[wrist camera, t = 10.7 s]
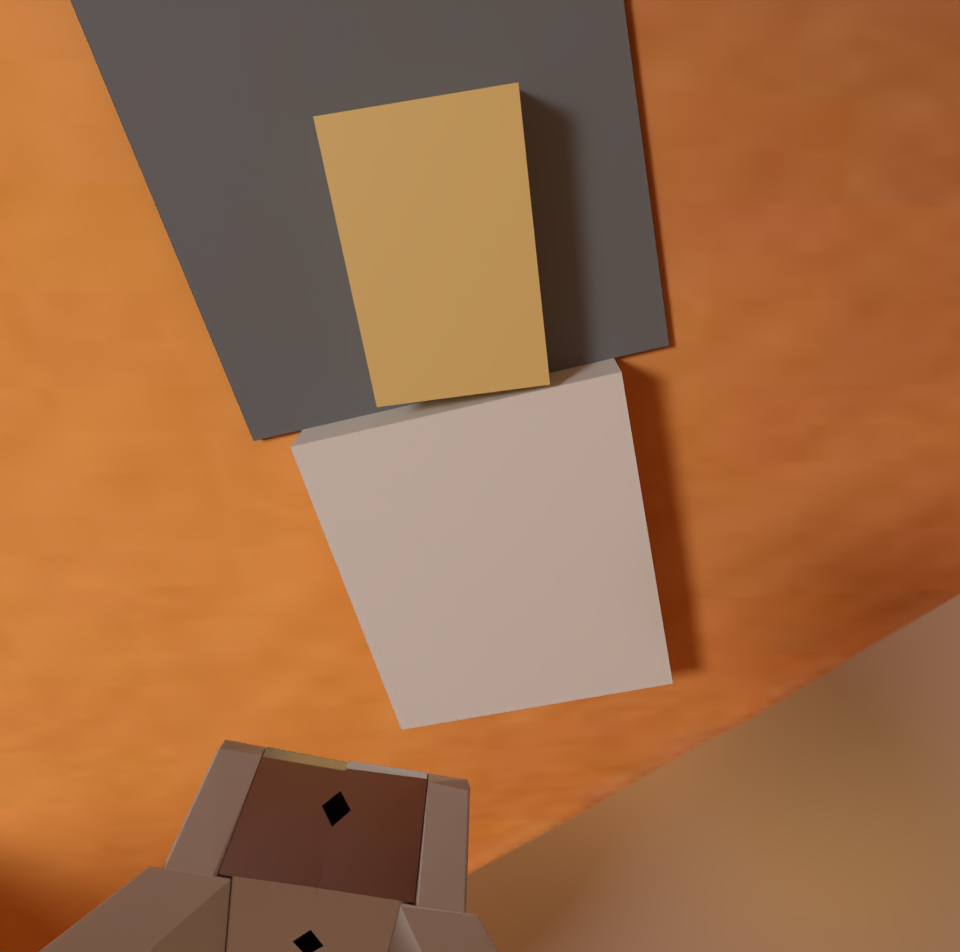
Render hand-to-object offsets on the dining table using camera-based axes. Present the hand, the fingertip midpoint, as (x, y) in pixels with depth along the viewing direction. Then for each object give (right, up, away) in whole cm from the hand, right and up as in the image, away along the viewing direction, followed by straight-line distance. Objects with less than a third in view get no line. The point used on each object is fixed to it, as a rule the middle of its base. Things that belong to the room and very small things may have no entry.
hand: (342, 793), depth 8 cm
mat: (-1, +15, +14) cm, 20 cm away
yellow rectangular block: (0, +12, +15) cm, 19 cm away
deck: (+2, +1, +20) cm, 20 cm away
